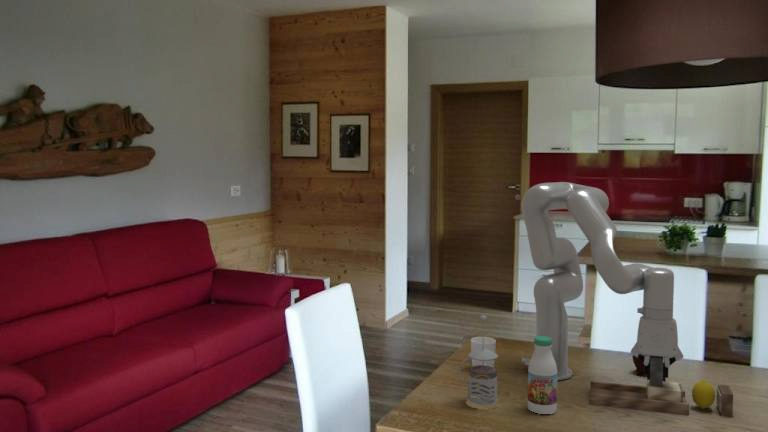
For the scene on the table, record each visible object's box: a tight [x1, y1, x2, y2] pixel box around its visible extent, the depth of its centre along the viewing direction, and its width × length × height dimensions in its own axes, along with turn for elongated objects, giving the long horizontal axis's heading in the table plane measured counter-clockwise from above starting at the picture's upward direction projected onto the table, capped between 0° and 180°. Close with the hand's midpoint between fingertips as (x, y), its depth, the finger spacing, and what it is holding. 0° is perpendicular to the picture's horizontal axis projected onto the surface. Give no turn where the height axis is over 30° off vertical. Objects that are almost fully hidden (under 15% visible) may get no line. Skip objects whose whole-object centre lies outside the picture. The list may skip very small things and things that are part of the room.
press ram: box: [646, 356, 684, 403], centre depth 176 cm, size 9×7×12 cm
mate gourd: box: [632, 355, 650, 377], centre depth 202 cm, size 8×8×15 cm
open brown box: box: [715, 384, 734, 418], centre depth 172 cm, size 3×7×6 cm, turn 161°
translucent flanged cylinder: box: [470, 336, 497, 368], centre depth 207 cm, size 8×8×10 cm
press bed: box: [589, 380, 690, 416], centre depth 179 cm, size 25×11×3 cm, turn 71°
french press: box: [458, 314, 499, 405], centre depth 179 cm, size 10×12×25 cm
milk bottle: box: [527, 336, 558, 415], centre depth 174 cm, size 8×8×20 cm
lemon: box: [691, 379, 716, 410], centre depth 174 cm, size 6×6×8 cm
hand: (655, 378), depth 177 cm, fingers closed on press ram, 3 cm apart
